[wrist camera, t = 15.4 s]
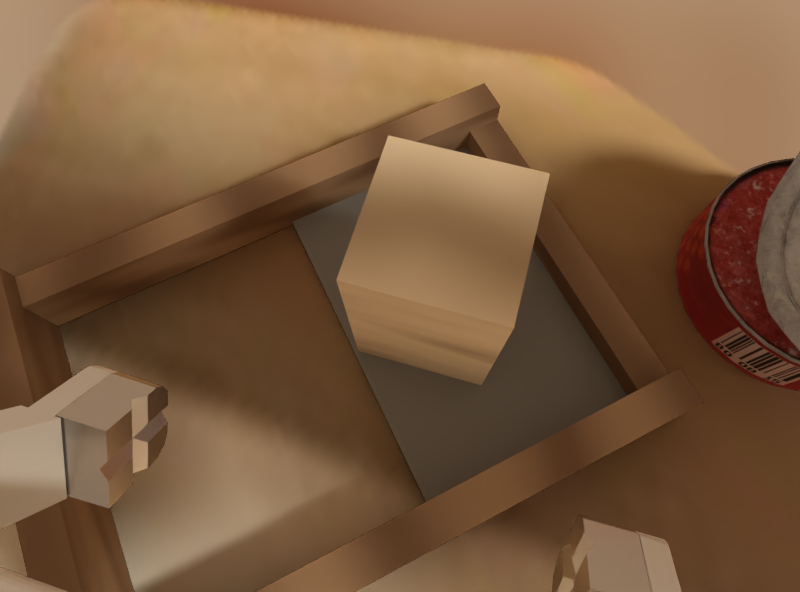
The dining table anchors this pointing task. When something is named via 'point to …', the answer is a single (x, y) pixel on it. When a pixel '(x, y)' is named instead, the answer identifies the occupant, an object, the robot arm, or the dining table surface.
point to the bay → (367, 357)
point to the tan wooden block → (440, 258)
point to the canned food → (748, 273)
